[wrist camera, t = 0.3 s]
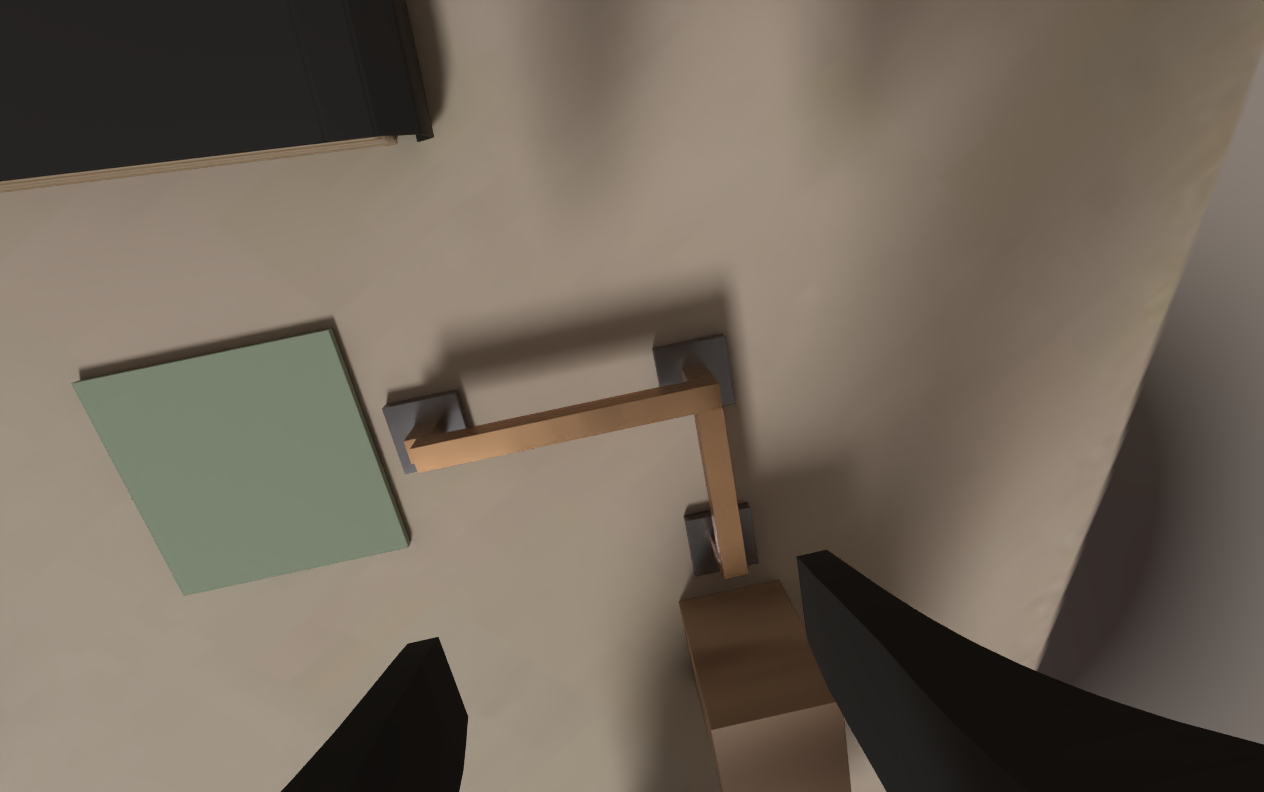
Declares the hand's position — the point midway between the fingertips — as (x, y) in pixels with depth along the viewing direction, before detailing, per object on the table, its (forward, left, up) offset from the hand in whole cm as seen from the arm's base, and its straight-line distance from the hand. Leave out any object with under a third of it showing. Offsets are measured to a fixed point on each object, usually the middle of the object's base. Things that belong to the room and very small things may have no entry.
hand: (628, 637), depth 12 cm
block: (-9, -3, -10) cm, 14 cm away
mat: (+2, +12, -10) cm, 15 cm away
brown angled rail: (-2, +1, -10) cm, 10 cm away
